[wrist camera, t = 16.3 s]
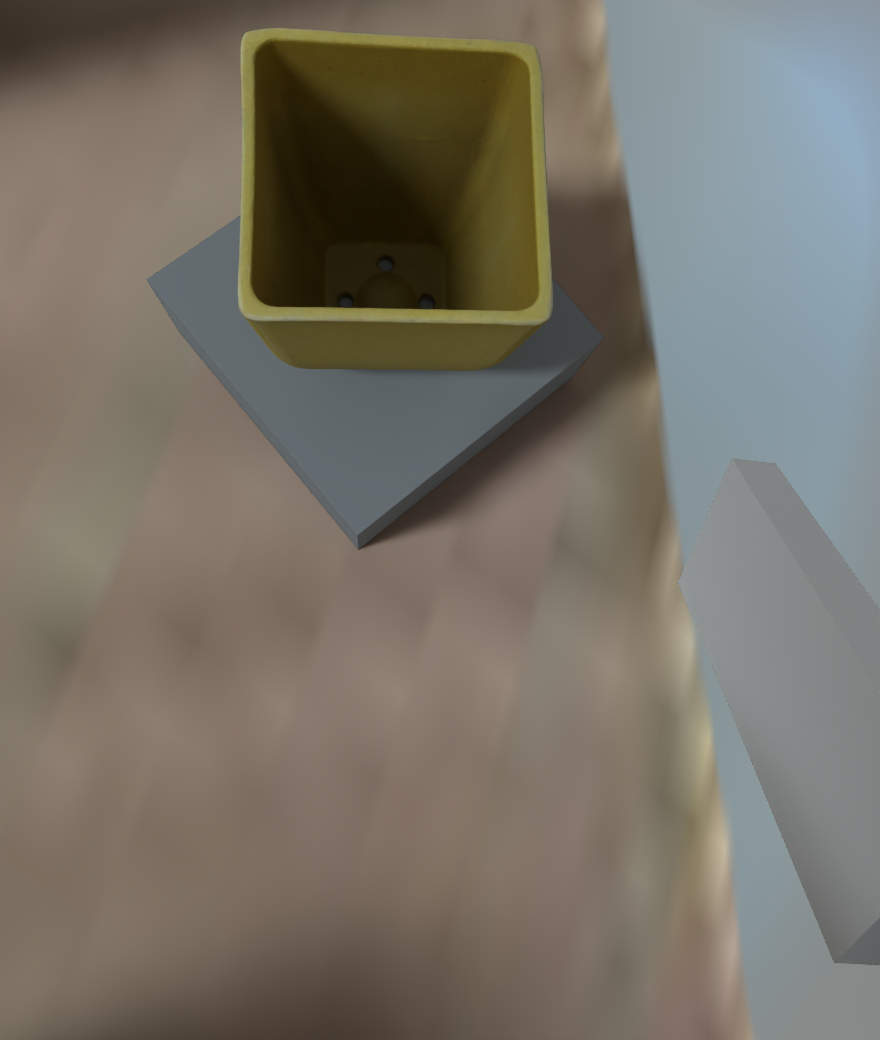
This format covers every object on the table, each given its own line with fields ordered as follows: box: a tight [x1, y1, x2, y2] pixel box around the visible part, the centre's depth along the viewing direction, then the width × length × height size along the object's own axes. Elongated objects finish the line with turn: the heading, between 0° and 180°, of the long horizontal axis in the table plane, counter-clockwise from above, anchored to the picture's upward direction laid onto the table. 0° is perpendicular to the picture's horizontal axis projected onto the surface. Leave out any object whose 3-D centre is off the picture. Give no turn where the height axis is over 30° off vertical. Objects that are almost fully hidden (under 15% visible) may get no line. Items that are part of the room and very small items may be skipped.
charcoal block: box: [147, 215, 604, 550], centre depth 32 cm, size 13×13×5 cm
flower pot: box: [238, 28, 553, 371], centre depth 25 cm, size 9×9×9 cm
